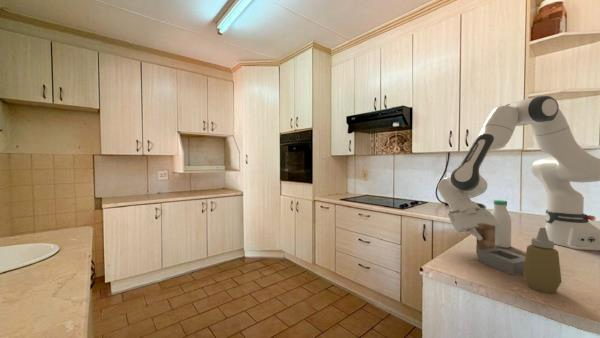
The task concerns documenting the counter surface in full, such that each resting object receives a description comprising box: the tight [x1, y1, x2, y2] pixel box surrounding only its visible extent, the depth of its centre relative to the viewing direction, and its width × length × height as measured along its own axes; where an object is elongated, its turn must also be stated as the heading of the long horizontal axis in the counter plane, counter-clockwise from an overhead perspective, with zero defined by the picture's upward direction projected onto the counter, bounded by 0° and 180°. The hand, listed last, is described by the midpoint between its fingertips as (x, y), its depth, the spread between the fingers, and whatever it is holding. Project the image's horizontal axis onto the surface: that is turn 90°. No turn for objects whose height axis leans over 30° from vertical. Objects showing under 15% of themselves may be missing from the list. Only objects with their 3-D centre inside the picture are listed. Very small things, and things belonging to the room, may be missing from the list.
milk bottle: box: [490, 199, 512, 249], centre depth 106 cm, size 8×8×20 cm
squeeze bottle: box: [522, 227, 562, 294], centre depth 70 cm, size 8×8×18 cm
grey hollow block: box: [476, 246, 526, 276], centre depth 86 cm, size 12×10×4 cm
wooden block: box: [476, 223, 496, 254], centre depth 96 cm, size 5×3×12 cm, turn 16°
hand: (487, 239), depth 96 cm, fingers open, 4 cm apart
